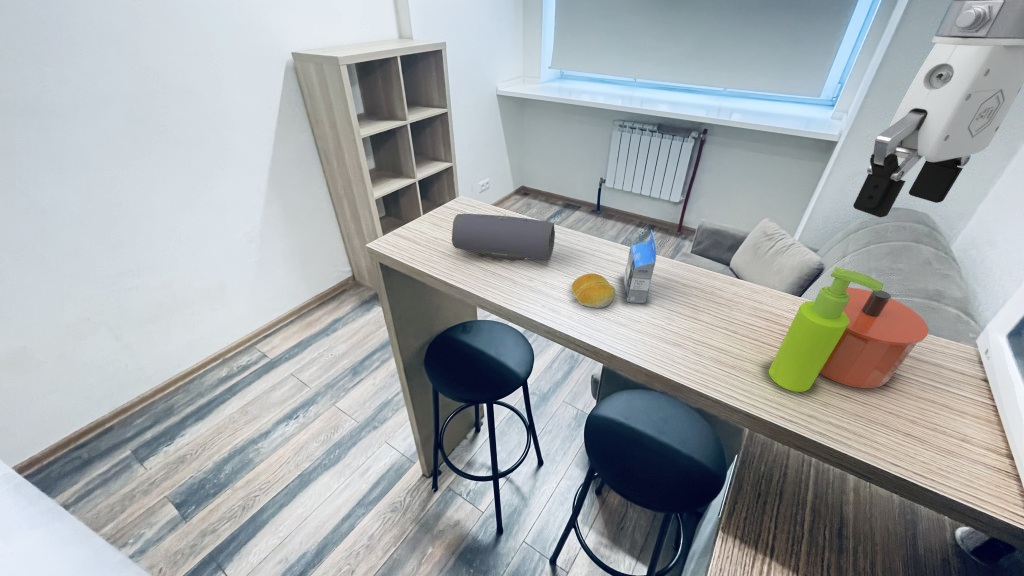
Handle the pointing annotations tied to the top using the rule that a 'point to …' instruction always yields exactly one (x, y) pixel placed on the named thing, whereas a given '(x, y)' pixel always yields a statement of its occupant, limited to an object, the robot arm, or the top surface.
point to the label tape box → (640, 270)
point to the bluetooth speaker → (503, 236)
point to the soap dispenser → (816, 332)
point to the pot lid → (883, 318)
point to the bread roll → (593, 291)
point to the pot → (863, 361)
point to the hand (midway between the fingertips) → (897, 205)
